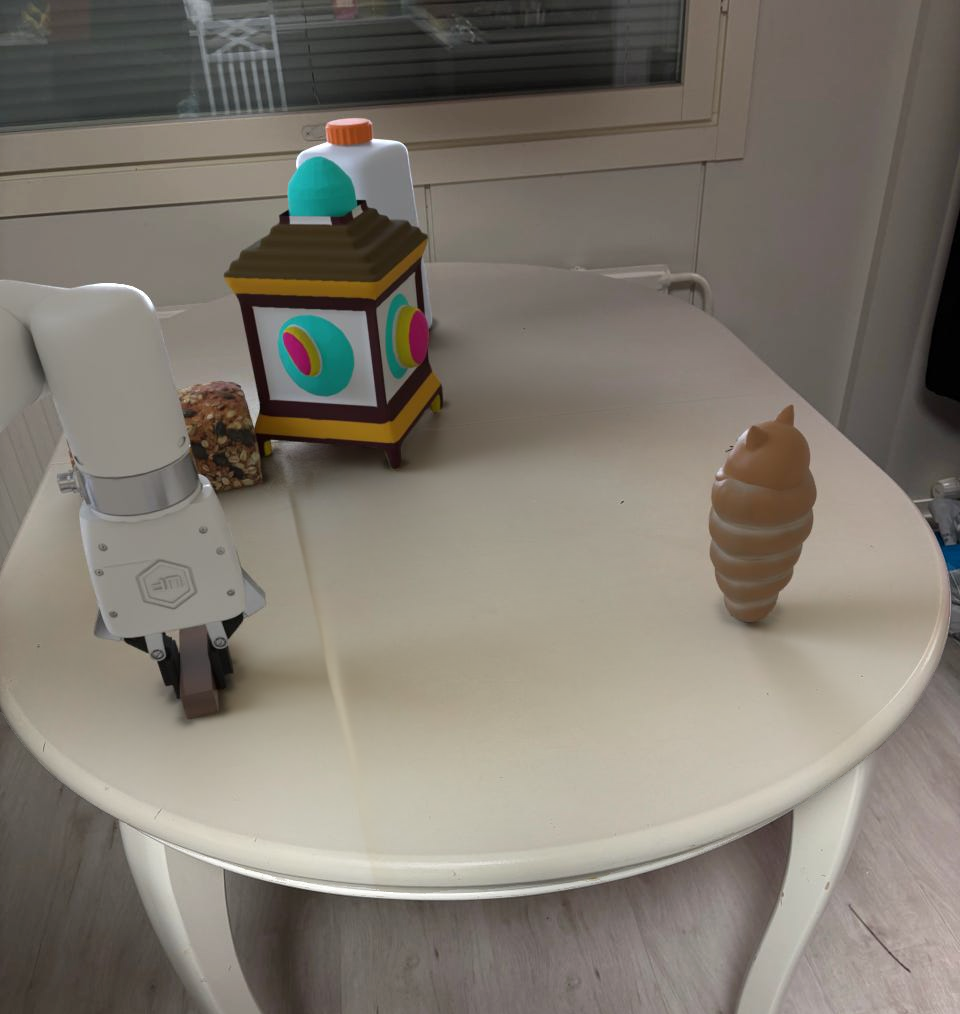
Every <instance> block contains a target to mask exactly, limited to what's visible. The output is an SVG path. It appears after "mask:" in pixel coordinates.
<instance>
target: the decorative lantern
mask: <svg viewBox="0 0 960 1014" xmlns="http://www.w3.org/2000/svg"><path fill="white" fill-rule="evenodd" d="M287 184H288V185H287V203H288V209H287V210H285V211H283V212H281V213H280V214H279V215H278V218H279V219H278V222H277V223H276V224H274V225H273V226H272V227H270V230H269V233H267V234H266V235H265V236H263V237H261V238H259V239H258V240H256V241H254V242H253V243H252V244H250V245H249V246H247V247H245V248H244V249H242V250H241V251H240V252H239V256H238V257H237V258H236V259H234V260H232V261H231V262H230V264H229V268H228V269H227V270H225V272H224V273H223V279H224V280H225V283H226V284H227V286H228V287H229V288H230V290H231V291H232V292H233V294H234V295H235V297H236V298H237V300H238V304H239V307H240V308H239V309H240V312H241V318H242V323H243V327H244V332H245V338H246V342H247V347H248V352H249V357H250V362H251V367H252V372H253V378H254V383H255V387H256V392H257V397H258V403H259V408H258V415H257V418H256V420H255V423H254V429H255V432H256V440H257V444H258V449H259V455H260V457H266V456H269V455H271V454H272V452H273V446H272V441H280V442H281V441H282V442H293V443H294V442H295V443H305V444H309V443H310V444H318V445H319V444H320V445H321V444H322V445H333V446H345V447H360V448H374V449H379V450H381V451H383V452H384V453H385V455H386V458H387V461H388V466H389V468H390V469H391V470H392V471H398V470H399V469H400V468H401V465H402V447H403V444H404V441H405V439H406V438H407V437H408V436H409V434H410V433H411V431H412V430H413V429H414V427H415V426H416V424H418V422H419V421H420V419H421V418H422V417H423V416H424V414H425V412H426V411H427V410H428V408H430V410H431V411H432V412H434V413H439V412H441V410H442V409H443V406H444V390H443V388H444V387H443V385H442V382H441V381H440V379H439V377H438V376H437V374H436V372H435V371H434V369H433V368H432V366H431V363H430V357H429V342H430V330H429V329H430V328H428V321H427V319H426V317H425V307H424V295H423V283H422V271H421V260H422V256H423V257H424V253H425V250H426V247H427V245H428V239H429V236H428V234H427V233H426V232H422V230H421V228H420V227H419V228H418V227H416V226H411V224H410V223H409V221H407V220H401V219H389V218H388V216H386V215H380V214H379V213H378V211H377V209H375V208H369V207H368V206H367V203H366V200H356V194H355V188H354V185H353V183H352V180H351V178H350V177H349V176H348V175H347V174H346V173H345V172H344V171H343V170H342V169H341V168H340V167H339V166H338V165H337V164H336V163H334V162H333V161H331V160H329V159H327V158H324V157H321V156H316V157H311V158H309V159H307V160H306V161H305V162H303V163H302V164H301V165H300V166H299V167H298V169H297V168H296V170H295V172H294V173H293V175H292V176H291V178H290V180H289V182H288V183H287Z"/></svg>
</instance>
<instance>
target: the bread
mask: <svg viewBox="0 0 960 1014" xmlns="http://www.w3.org/2000/svg"><path fill="white" fill-rule="evenodd" d="M177 392H178V396H179V400H180V404H181V408H182V412H183V416H184V420H185V424H186V428H187V432H188V435H189V439H190V443H191V447H192V451H193V455H194V459H195V463H196V467H197V470H198V474H199V475H203V476H205V477H206V478H207V479H208V480H209V482H210V484H211V485H212V487H213V489H214V491H215V493H219V492H220V493H221V492H225V491H228V490H234V489H239V488H243V487H248V486H253V485H256V484H260V483H263V482H264V481H263V472H262V467H261V456H260V455H259V449H258V444H257V440H256V432H255V429H254V427H255V425H254V422H253V420H252V416H251V412H250V408H249V404H248V401H247V399H246V394H245V391H244V390H243V388H242V386H241V385H240V384H238V383H237V382H234V381H224V380H218V381H217V380H216V381H212V382H211V381H210V382H208V383H204V384H203V383H202V384H201V383H200V384H198V383H197V384H193V385H191V386H186V387H184V388H180V389H177ZM66 443H67V447H68V455H69V459H70V464H71V469H73V468H74V464H75V462H74V459H73V456H72V453H71V450H70V447H69V444H68V441H67V440H66Z"/></svg>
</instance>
